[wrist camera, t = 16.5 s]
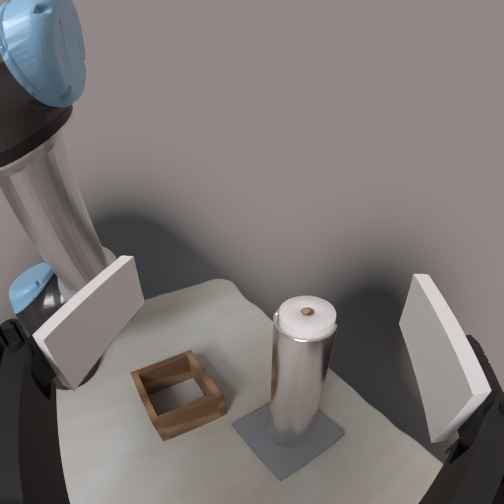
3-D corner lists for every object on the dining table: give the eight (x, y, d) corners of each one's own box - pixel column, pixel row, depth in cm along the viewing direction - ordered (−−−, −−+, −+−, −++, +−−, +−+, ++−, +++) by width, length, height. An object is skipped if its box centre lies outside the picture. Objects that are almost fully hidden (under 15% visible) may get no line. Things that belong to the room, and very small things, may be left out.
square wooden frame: (140, 392, 44) (130, 372, 41) (195, 370, 50) (190, 350, 47) (163, 441, 34) (152, 424, 32) (226, 413, 40) (223, 394, 38)
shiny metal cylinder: (282, 409, 40) (292, 286, 30) (316, 424, 37) (348, 303, 26) (260, 436, 36) (259, 317, 25) (296, 454, 32) (323, 342, 22)
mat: (232, 424, 38) (231, 423, 38) (293, 390, 45) (293, 388, 45) (280, 480, 29) (280, 479, 28) (344, 434, 35) (345, 432, 35)
